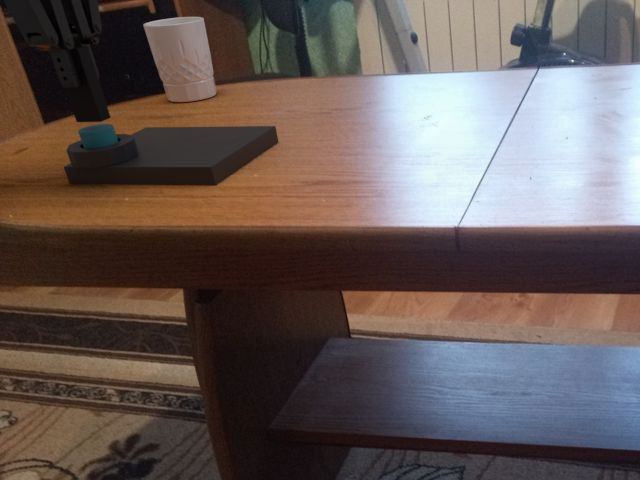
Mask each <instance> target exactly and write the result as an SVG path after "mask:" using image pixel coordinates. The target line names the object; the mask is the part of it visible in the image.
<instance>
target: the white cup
mask: <svg viewBox="0 0 640 480" xmlns="http://www.w3.org/2000/svg"><path fill="white" fill-rule="evenodd" d="M142 26H143V30H144V32H145V35H146V38H147V41H148V42H147V43H148V45H149V48H150V51H151V54H152V57H153V62H154V64H155V66H156V68H157V72H158V75H159V76H158V77H159V78H160V80H161V82H162V86H163V89H164V93H165V95H166V98H167V100H168V101H170V102H171V103H187V102H188V103H191V102H196V101H202V100H206V99H210V98H212V97H214V96H216V95H217V93H218V91H217V87H216V81H215V77H214V73H215V72H214V67H213V61H212V54H211V49H210V44H209V40H208V39H209V38H208V34H207V28H206V23H205V18H204V17H202V16H180V17H170V18H164V19H163V18H162V19H158V20H152V21H149V22H144V23H143V25H142Z"/></svg>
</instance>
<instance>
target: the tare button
mask: <svg viewBox="0 0 640 480" xmlns="http://www.w3.org/2000/svg"><path fill="white" fill-rule="evenodd" d="M77 133H78V136H79V138H80V140H81V141H82V144H83V147H84V148H99V147H105V146H109V145H113V144H115V143H118V139H117V136H116V134H117V132H116V129H115V126H114V124H112V123H98V124H97V123H96V124H91V125H87V126H84V127H81V128H80V129H78V130H77Z"/></svg>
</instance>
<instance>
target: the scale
mask: <svg viewBox="0 0 640 480" xmlns="http://www.w3.org/2000/svg"><path fill="white" fill-rule="evenodd" d="M116 136H117V139H118V143H115V144H113V145H109V146H105V147H99V148H84V147H83V144H82V141H81V139H80V140H77V141H75V142H73V143H70V144H69V145H68V146H67V147H66V153H67V156H68V158H69V161H70V163H68V164H67V165H64V166H63V169H64V172H65V174H66V178H67V181H68V182H69V185H102V186H103V185H104V186H105V185H107V186H109V185H112V186H114V185H115V186H116V185H117V186H120V185H121V186H123V185H124V186H131V185H132V186H217V185H218V184H220V183H221V182H223V181H224V180H226V179H228V178H229V177H230V176H232V175H233V174H234V173H236V172H238V171H239V170H240V169H242V168H243V167H245V166H246V165H248V164H249V163H251V162H252V161H254V160H255V159H257V158H258V157H259V156H261V155H263V154H264V153H266V152H267V151H269V150H270V149H271V148H273V147H274V146H275V145H277V144H279V137H278V132H277V128H276V125H251V126H249V125H248V126H247V125H243V126H242V125H241V126H234V125H233V126H165V127H164V126H157V127H155V126H152V127H151V126H149V127H148V126H147V127H144V128H142V129H139V130H137V131H135V132H133V133H131V134H128V133H116Z"/></svg>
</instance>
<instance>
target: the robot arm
mask: <svg viewBox="0 0 640 480" xmlns="http://www.w3.org/2000/svg"><path fill="white" fill-rule="evenodd" d="M2 1H3V3H4V5H5V6H6V8H7V10H8V12H9V14H10V15H11V18H12V19H13V21H14V23H15V25H16V27H17V29H18V30H19V32H20V34H21V36H22V37H23V40H24V41H25V42H26V44H27V45H28V46H29V47H35V48H36V49H37V51H39V52H43V51H46V52H48V53H49V55H50V57H51V60H52V63H53V66H54V69H55V72H56V75H57V77H58V81H59V83H60V85H61V86H62V88H63V89H65V92H66V96H67V97H68V101H69V104H70V107H71V109H72V112H73V116H74V118H75V122H76V123H102V122H103V121H107V120H108V119H111V114H110V110H109V108H108V104H107V101H106V99H105V96H104V95H105V94H104V92H103V88H102V86H101V83H100V73H99V70H98V67H97V66H98V65H97V63H96V60H95V57H94V54H93V50H92V47H91V45H97V44H99V42H100V36H99V34H101V33H102V31H103V27H102V26H103V25H102V20H101V14H100V7H99V3H98V1H99V0H2Z"/></svg>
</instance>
